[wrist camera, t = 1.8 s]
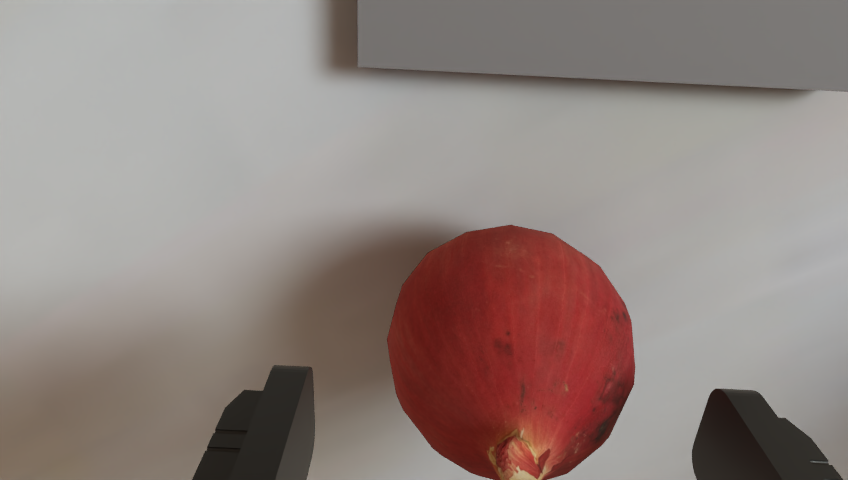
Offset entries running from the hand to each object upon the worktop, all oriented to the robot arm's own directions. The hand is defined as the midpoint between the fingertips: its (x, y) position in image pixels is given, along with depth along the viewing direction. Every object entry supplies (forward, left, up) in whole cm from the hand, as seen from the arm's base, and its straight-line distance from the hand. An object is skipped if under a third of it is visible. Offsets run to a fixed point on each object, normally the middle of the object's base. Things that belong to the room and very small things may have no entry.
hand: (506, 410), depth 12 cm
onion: (0, 0, -7) cm, 7 cm away
